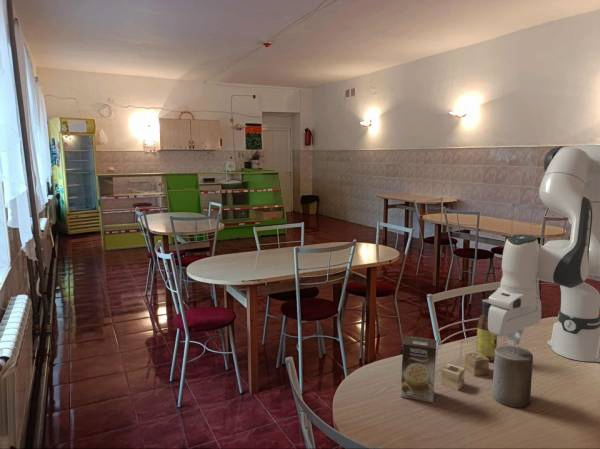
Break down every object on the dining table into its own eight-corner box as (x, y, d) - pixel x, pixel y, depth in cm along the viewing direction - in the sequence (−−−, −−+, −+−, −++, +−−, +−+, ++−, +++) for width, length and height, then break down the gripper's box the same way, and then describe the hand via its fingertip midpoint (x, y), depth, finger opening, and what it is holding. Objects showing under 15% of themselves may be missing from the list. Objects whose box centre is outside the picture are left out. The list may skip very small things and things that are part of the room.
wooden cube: (478, 367, 141) (479, 351, 140) (488, 374, 136) (489, 358, 135) (464, 368, 140) (465, 353, 139) (474, 376, 135) (475, 360, 134)
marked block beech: (447, 378, 134) (448, 362, 133) (464, 384, 130) (464, 367, 130) (440, 385, 130) (441, 368, 129) (457, 390, 127) (458, 374, 126)
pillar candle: (538, 404, 119) (542, 352, 117) (510, 411, 116) (514, 357, 114) (510, 387, 128) (513, 338, 126) (483, 393, 125) (486, 343, 123)
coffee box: (399, 397, 123) (401, 343, 121) (402, 386, 129) (403, 334, 127) (433, 403, 120) (435, 348, 118) (434, 391, 126) (436, 338, 124)
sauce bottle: (498, 362, 144) (501, 304, 141) (477, 361, 145) (481, 303, 142) (493, 354, 150) (496, 298, 147) (474, 352, 151) (477, 297, 148)
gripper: (527, 286, 126) (523, 332, 128) (484, 298, 115) (481, 348, 117) (549, 291, 121) (545, 339, 123) (507, 304, 110) (503, 357, 112)
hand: (514, 343), depth 120 cm, fingers closed
